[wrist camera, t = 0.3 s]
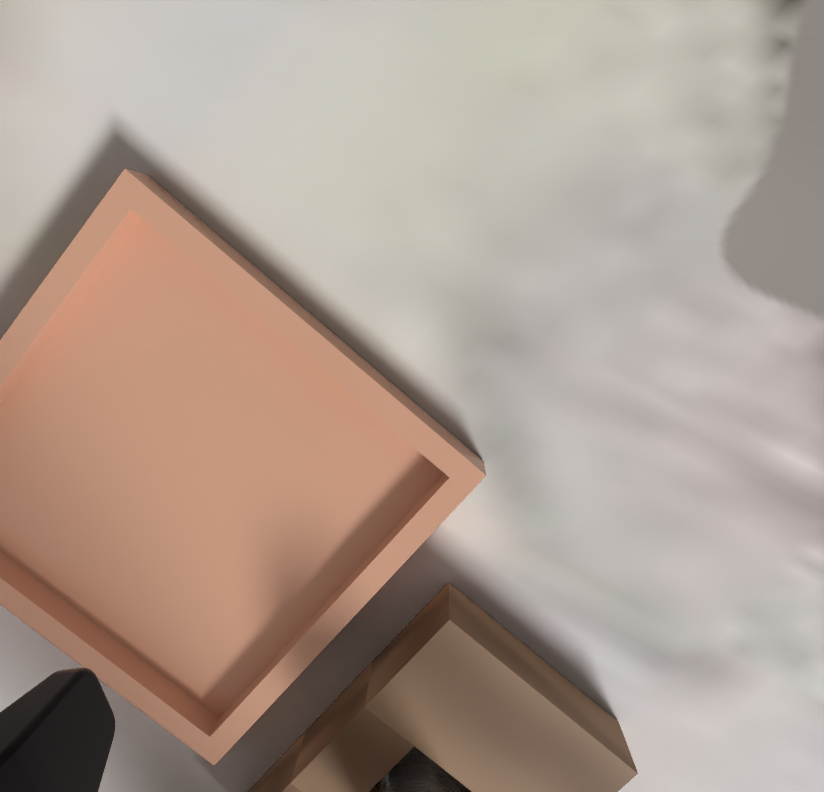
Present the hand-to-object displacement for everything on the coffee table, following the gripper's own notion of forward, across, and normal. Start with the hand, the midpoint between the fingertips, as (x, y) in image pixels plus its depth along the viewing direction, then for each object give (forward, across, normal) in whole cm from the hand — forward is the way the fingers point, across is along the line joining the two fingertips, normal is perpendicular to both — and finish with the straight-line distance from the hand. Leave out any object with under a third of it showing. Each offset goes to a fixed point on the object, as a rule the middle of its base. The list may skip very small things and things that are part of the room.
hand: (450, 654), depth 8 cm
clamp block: (+12, +3, +16) cm, 20 cm away
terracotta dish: (+14, +9, +4) cm, 17 cm away
